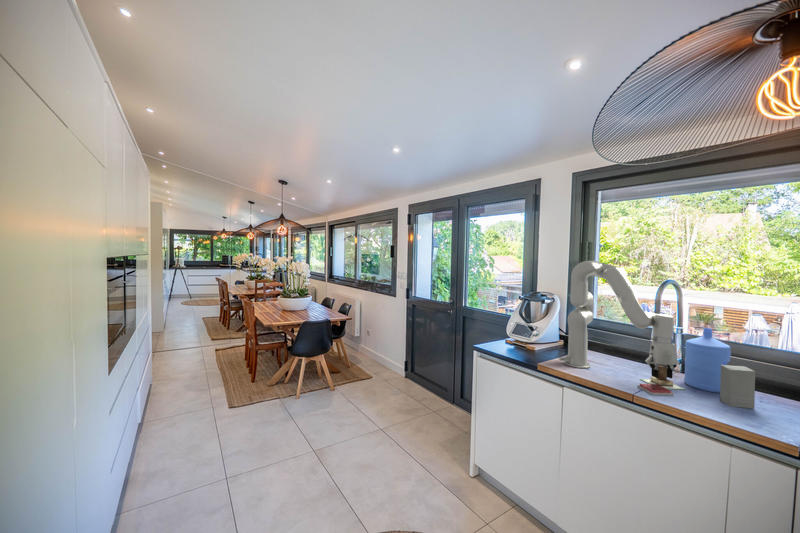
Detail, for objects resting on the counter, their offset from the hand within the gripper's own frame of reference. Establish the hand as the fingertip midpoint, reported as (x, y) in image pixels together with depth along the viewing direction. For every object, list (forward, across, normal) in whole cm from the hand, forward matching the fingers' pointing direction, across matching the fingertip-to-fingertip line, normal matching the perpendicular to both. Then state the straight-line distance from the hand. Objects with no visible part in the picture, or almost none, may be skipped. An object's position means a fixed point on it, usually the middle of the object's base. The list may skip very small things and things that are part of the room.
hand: (661, 377), depth 152 cm
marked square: (+4, 0, 0) cm, 4 cm away
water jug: (+4, +20, -1) cm, 20 cm away
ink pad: (+4, -10, -9) cm, 14 cm away
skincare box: (+4, +14, -21) cm, 26 cm away
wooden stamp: (+3, 0, 0) cm, 3 cm away
